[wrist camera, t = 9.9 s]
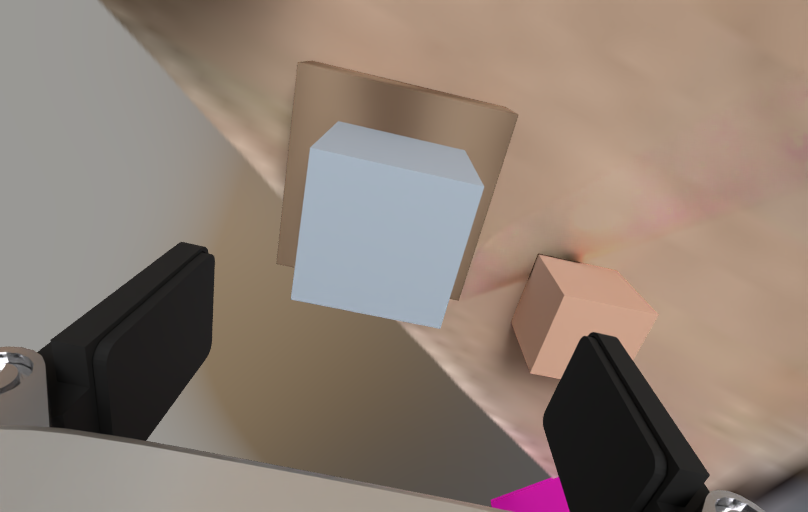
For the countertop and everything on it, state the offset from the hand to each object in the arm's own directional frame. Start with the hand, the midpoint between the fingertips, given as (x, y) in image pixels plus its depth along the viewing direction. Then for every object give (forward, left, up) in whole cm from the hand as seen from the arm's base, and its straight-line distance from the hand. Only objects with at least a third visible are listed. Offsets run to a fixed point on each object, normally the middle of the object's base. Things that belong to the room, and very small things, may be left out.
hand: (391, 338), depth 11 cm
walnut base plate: (+1, 0, -15) cm, 15 cm away
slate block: (+1, 0, -12) cm, 12 cm away
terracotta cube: (-11, +5, -15) cm, 19 cm away
